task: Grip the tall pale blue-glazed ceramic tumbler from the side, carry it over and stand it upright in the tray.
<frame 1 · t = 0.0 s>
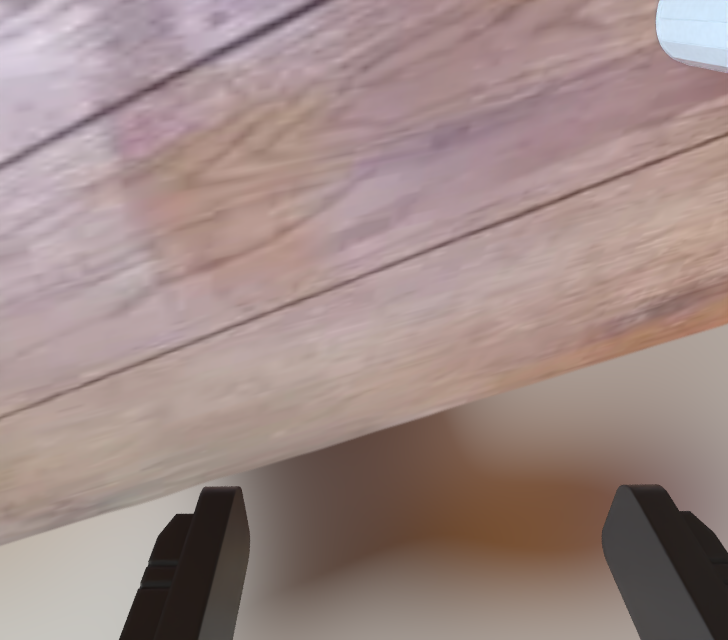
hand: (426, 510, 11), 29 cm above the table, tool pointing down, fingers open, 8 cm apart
tumbler: (710, 5, 32), on the table
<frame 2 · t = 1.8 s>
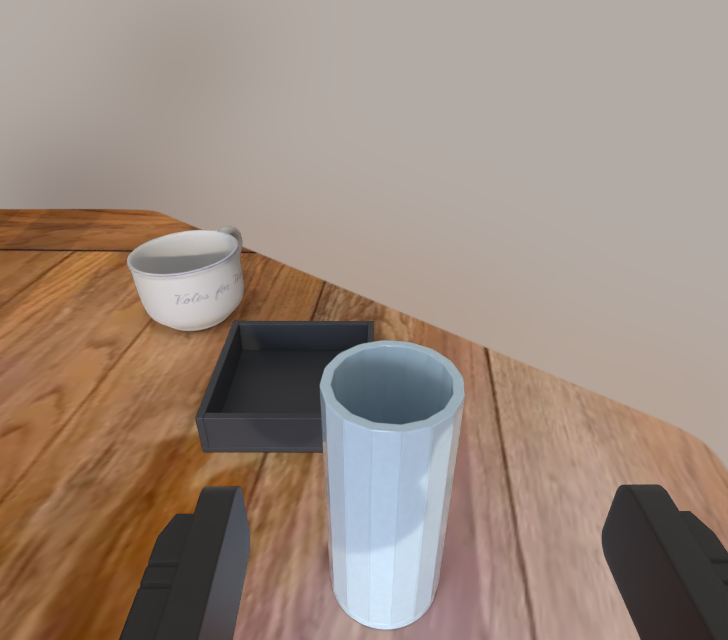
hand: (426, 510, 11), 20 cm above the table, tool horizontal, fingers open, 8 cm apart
tray: (298, 395, 45), on the table
teacup: (208, 310, 57), on the table
tumbler: (384, 575, 31), on the table
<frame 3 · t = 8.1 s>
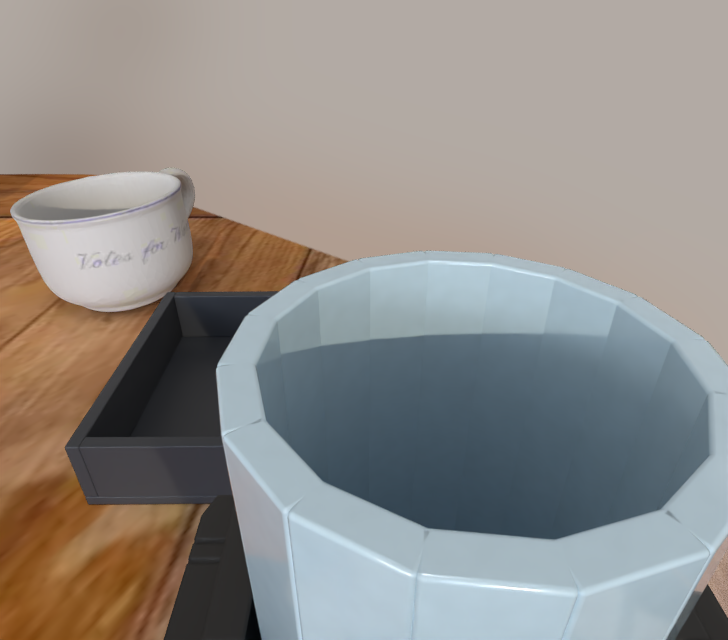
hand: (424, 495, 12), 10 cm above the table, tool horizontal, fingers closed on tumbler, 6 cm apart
tray: (262, 404, 29), on the table
teacup: (145, 286, 41), on the table
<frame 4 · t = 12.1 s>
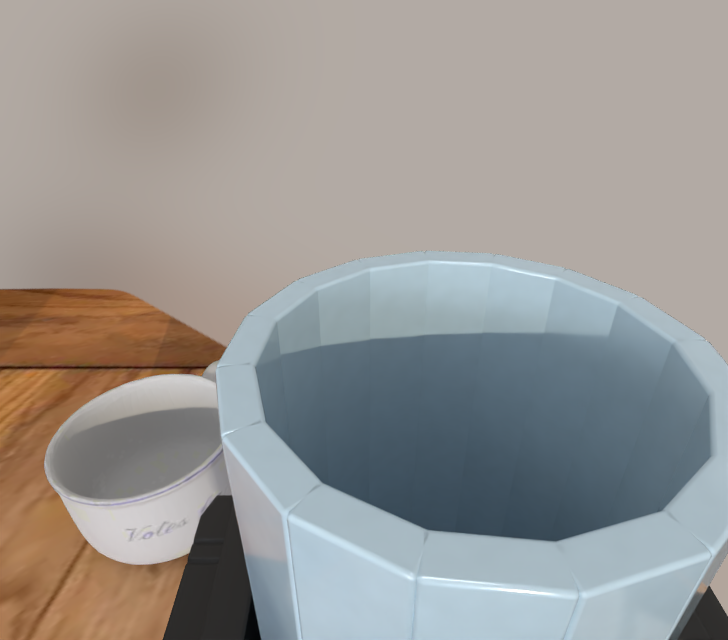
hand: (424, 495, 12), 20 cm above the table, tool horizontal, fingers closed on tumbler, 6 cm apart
teacup: (190, 499, 36), on the table
when the fingers open (10 cm above the table, at t = 16.0 s): tumbler stays where it is, resting on tray.
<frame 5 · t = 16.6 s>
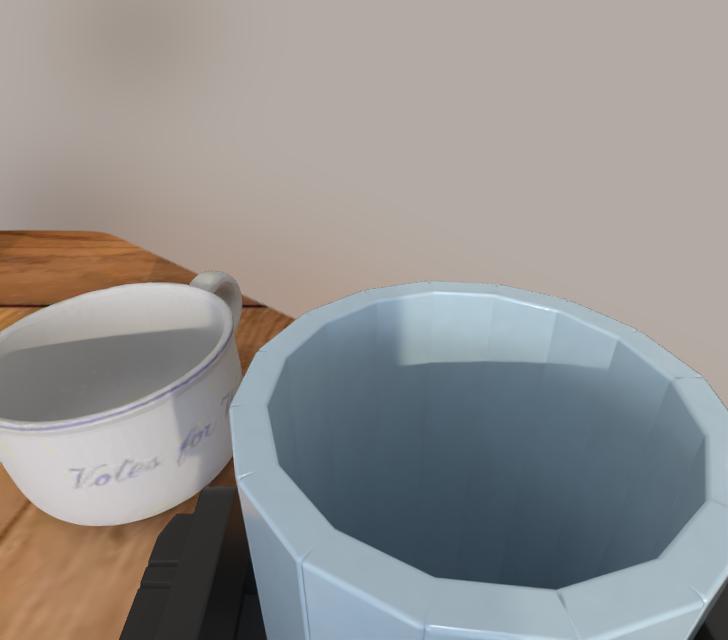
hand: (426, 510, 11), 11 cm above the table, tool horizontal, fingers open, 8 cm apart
teacup: (172, 449, 27), on the table
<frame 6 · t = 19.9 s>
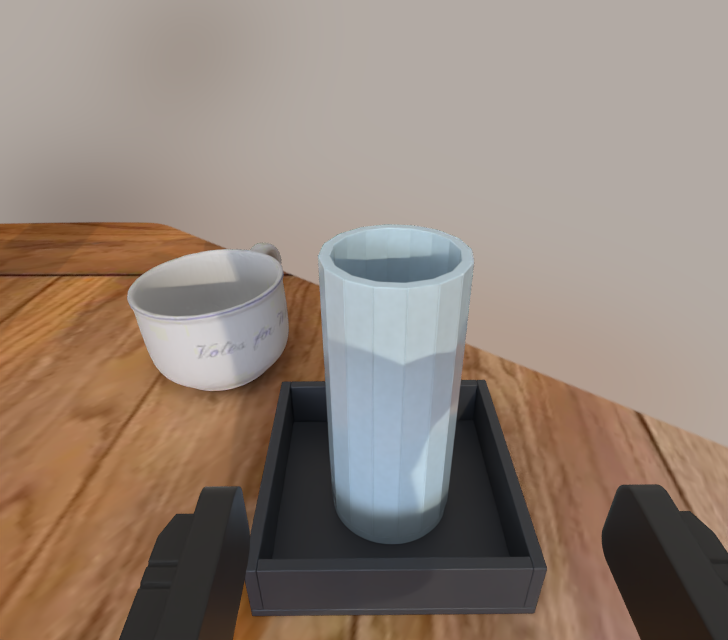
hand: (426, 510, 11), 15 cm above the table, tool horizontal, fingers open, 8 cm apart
tray: (387, 499, 30), on the table
teacup: (238, 358, 42), on the table
tumbler: (389, 495, 30), resting on tray
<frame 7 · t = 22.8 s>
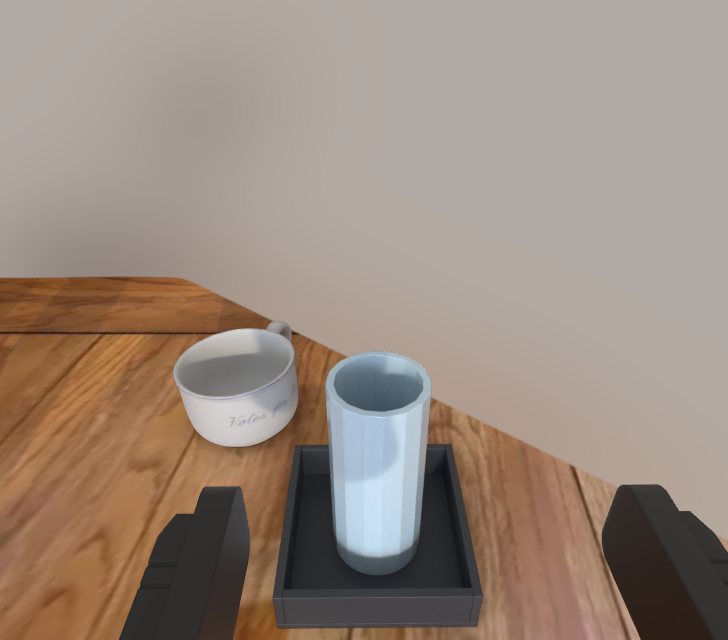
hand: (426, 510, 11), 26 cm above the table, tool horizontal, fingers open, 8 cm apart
tray: (374, 539, 40), on the table
teacup: (257, 415, 52), on the table
tumbler: (376, 536, 40), resting on tray
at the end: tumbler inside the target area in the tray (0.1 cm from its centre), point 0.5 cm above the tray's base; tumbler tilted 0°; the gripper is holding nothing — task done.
